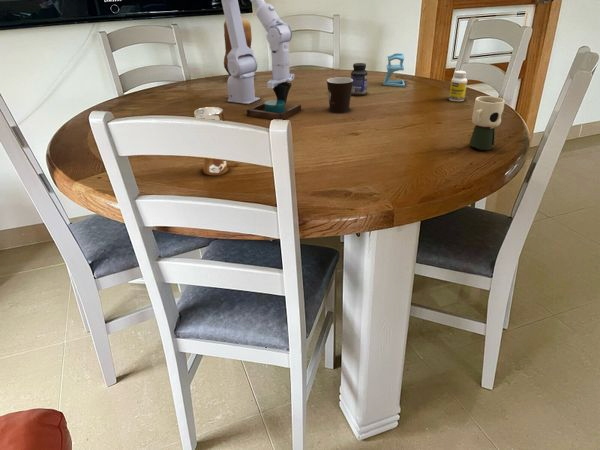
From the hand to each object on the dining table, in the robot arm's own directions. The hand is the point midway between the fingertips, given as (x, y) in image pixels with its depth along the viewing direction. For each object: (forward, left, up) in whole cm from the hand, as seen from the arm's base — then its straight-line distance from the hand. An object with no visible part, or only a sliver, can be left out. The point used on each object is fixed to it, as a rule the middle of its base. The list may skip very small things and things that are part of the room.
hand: (282, 105), depth 159 cm
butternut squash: (-40, +31, -2) cm, 51 cm away
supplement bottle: (+51, +36, -2) cm, 63 cm away
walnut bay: (0, -5, -1) cm, 5 cm away
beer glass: (+13, -54, -2) cm, 55 cm away
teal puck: (0, -5, -1) cm, 5 cm away
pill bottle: (+16, +29, -2) cm, 34 cm away
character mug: (+68, -9, -2) cm, 68 cm away
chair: (+23, +49, -2) cm, 55 cm away
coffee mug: (+18, +8, -2) cm, 20 cm away
